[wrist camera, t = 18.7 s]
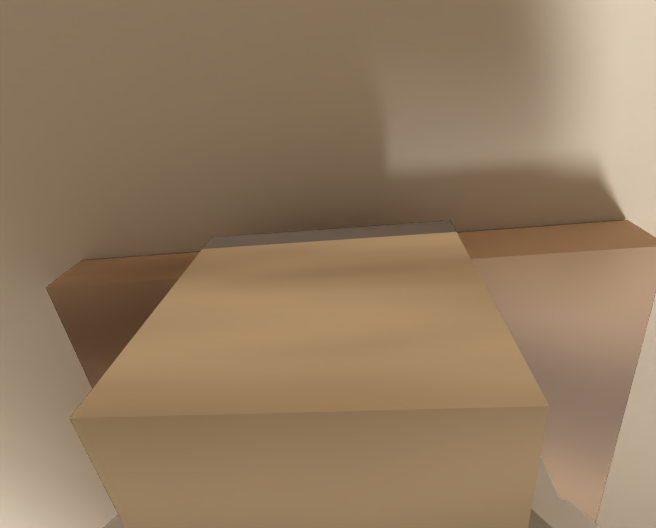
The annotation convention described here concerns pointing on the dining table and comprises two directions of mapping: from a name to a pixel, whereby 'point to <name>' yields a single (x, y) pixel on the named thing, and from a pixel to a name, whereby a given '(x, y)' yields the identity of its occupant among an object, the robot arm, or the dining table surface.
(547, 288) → the board
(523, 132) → the dining table surface
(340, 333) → the block
